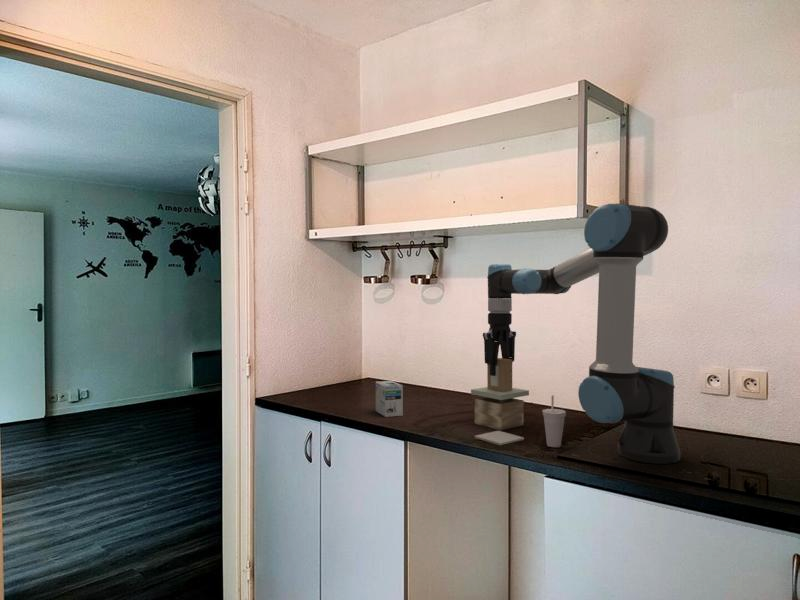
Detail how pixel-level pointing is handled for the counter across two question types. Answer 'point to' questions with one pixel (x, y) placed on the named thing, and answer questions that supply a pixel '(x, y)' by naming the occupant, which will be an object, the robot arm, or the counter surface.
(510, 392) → the lid
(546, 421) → the smoothie
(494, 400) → the box
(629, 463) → the counter surface
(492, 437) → the mat
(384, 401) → the light bulb box
